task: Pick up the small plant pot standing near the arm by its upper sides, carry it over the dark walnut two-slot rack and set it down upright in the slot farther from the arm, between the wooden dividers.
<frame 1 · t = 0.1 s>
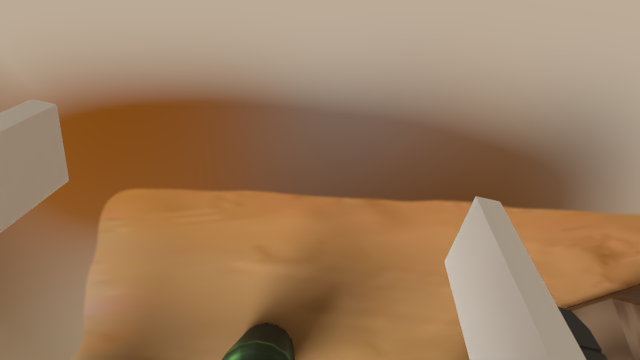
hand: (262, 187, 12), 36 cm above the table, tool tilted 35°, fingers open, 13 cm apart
potion bottle: (266, 350, 47), on the table
rack: (627, 351, 48), on the table
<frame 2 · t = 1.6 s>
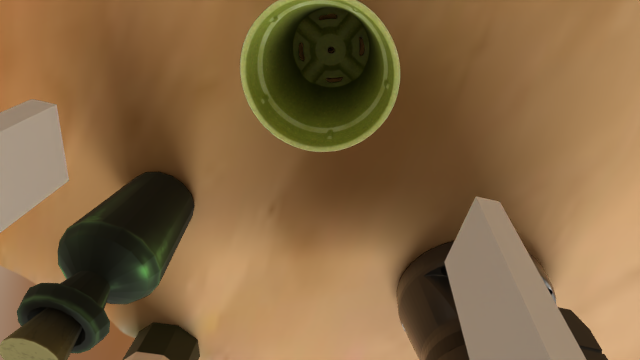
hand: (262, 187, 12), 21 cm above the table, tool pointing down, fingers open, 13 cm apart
potion bottle: (164, 197, 39), on the table
wine bottle: (170, 342, 51), on the table
plant pot: (330, 48, 30), on the table
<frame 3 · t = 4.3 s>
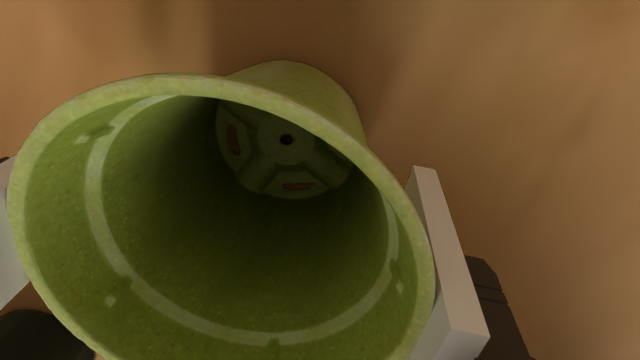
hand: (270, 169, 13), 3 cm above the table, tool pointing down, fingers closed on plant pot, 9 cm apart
potion bottle: (50, 340, 25), on the table
plant pot: (287, 132, 16), on the table, touching gripper
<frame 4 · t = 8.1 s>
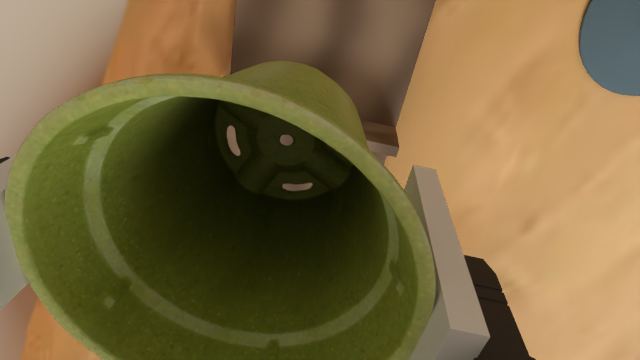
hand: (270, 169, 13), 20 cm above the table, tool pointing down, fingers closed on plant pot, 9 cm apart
plant pot: (286, 133, 16), point 17 cm above the table, touching gripper
rack: (313, 108, 33), on the table
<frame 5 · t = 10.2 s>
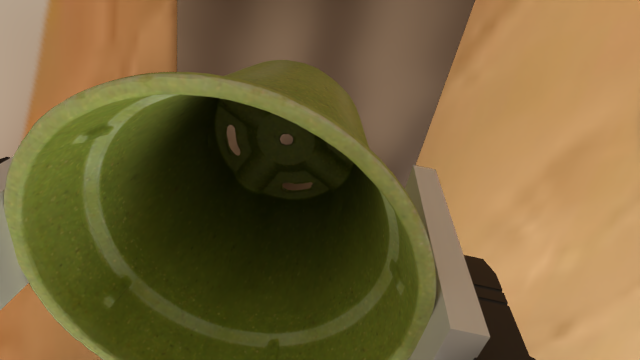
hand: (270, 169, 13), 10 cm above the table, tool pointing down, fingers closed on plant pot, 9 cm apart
plant pot: (286, 132, 16), point 7 cm above the table, touching gripper
rack: (288, 194, 26), on the table
when the fingers open (6 cm above the table, at t = 11.9 s): plant pot drops 2 cm, resting on rack.
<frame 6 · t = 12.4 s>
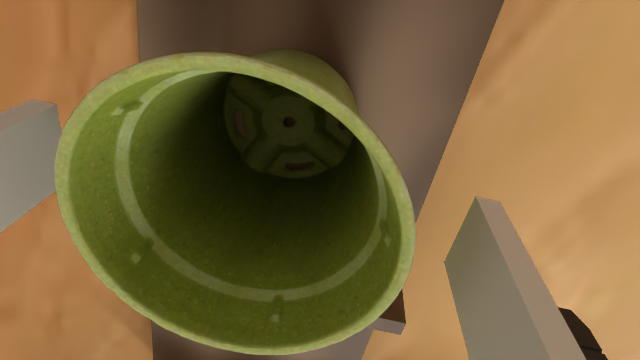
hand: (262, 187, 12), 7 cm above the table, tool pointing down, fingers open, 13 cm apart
plant pot: (289, 116, 18), point 1 cm above the table, touching rack
rack: (276, 228, 22), on the table
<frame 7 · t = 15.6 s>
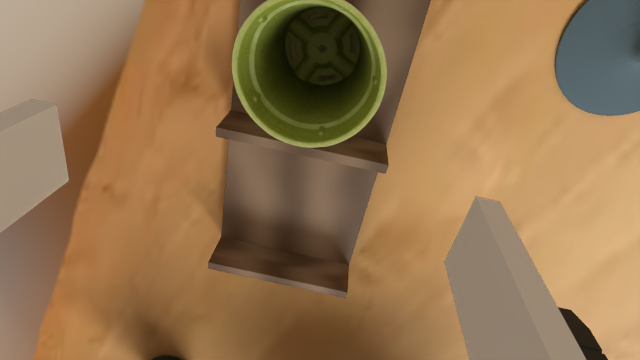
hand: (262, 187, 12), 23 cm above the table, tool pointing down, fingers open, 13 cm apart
plant pot: (321, 46, 31), point 1 cm above the table, touching rack
rack: (309, 126, 36), on the table
cocktail glass: (629, 47, 30), on the table
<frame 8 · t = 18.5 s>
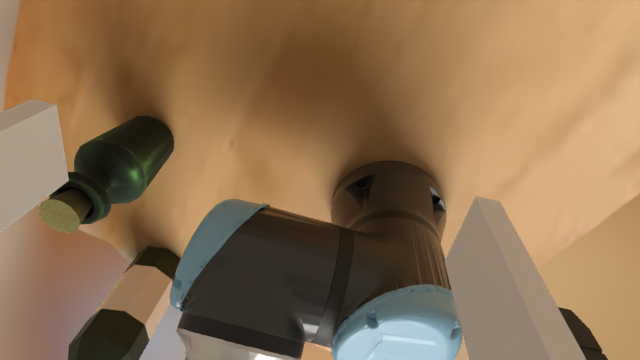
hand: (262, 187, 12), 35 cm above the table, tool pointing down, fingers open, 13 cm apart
potion bottle: (151, 137, 52), on the table
wine bottle: (161, 265, 64), on the table
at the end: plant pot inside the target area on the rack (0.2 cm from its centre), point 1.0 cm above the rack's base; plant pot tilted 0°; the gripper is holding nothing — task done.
